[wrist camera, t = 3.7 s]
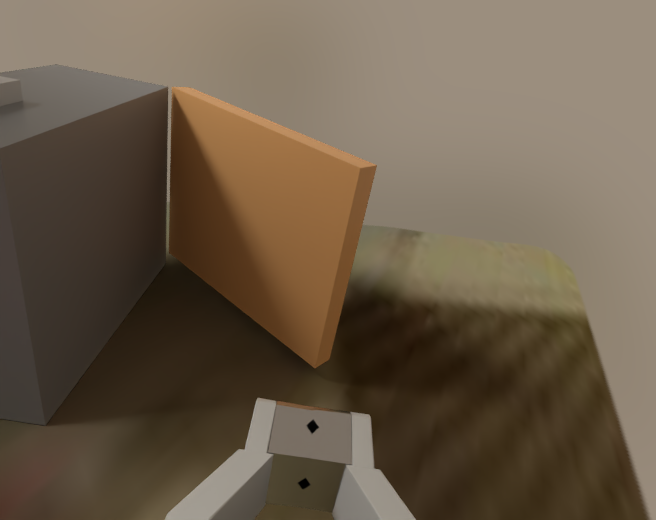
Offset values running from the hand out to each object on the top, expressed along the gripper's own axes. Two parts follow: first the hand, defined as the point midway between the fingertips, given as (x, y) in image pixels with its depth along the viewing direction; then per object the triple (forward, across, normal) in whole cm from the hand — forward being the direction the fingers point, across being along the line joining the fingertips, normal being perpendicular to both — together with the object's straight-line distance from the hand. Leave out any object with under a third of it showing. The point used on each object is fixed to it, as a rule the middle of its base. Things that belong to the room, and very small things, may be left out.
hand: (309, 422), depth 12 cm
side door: (+21, +5, +11) cm, 25 cm away
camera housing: (+17, +17, +12) cm, 27 cm away
